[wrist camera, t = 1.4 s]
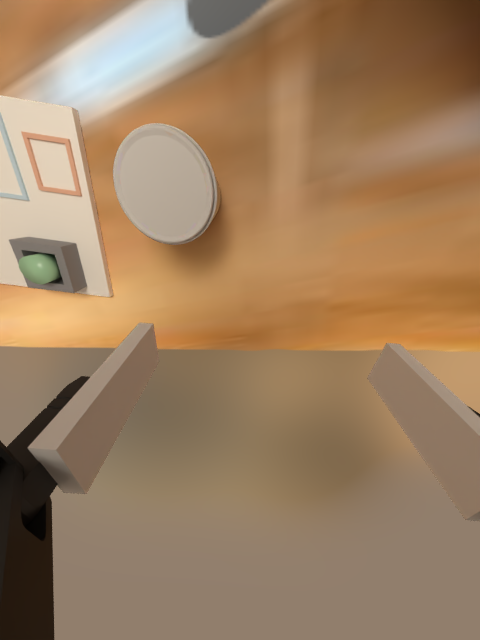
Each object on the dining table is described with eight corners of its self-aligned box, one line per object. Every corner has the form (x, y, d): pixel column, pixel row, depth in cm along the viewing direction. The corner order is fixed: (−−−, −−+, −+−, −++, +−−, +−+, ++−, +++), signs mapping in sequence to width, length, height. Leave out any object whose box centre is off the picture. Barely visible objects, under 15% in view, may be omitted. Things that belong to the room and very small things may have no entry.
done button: (32, 250, 30) (13, 254, 28) (60, 254, 30) (44, 258, 28) (41, 276, 32) (25, 282, 30) (68, 280, 32) (53, 286, 30)
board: (-100, 81, 24) (-160, 60, 20) (77, 110, 24) (49, 95, 21) (-4, 280, 35) (-32, 288, 32) (113, 294, 36) (99, 304, 33)
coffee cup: (165, 231, 31) (124, 244, 20) (154, 152, 26) (93, 118, 16) (227, 232, 31) (217, 247, 20) (226, 154, 26) (213, 120, 16)
